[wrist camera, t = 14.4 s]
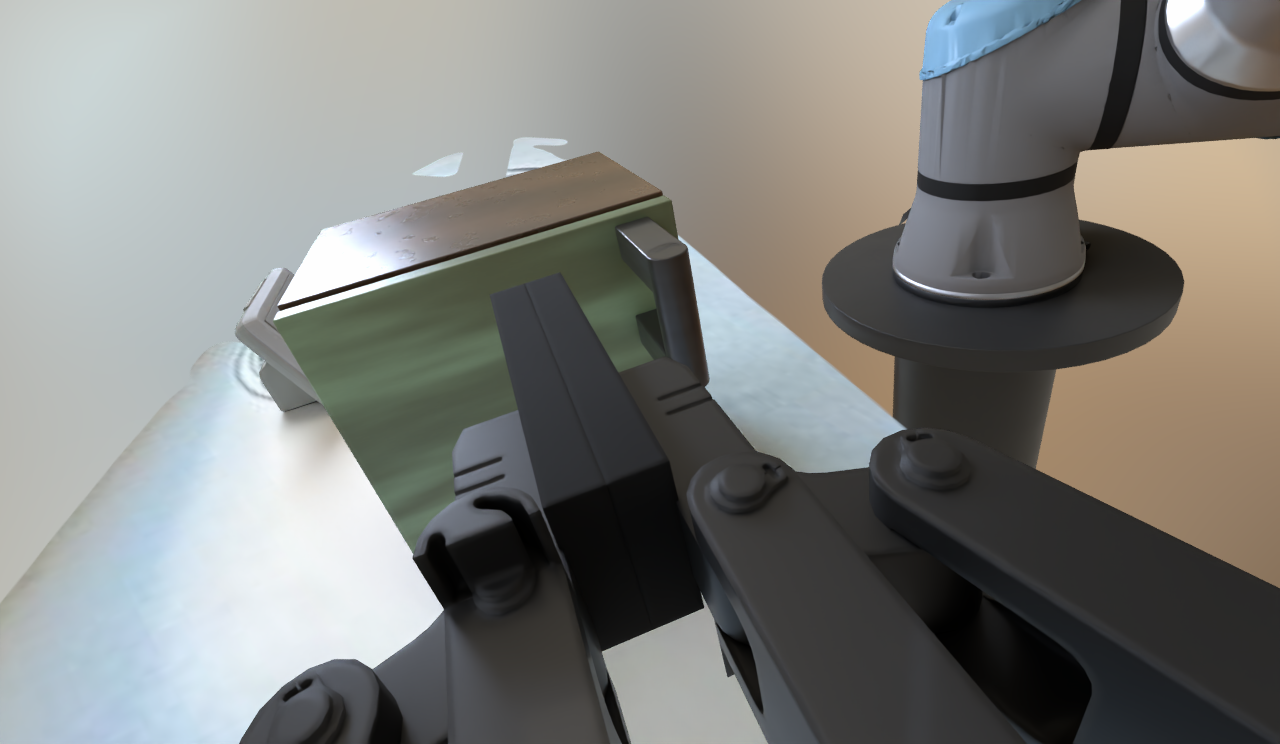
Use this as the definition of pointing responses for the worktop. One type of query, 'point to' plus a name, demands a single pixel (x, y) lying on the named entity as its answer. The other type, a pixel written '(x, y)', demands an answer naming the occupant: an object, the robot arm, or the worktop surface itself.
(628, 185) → the cupboard
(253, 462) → the worktop surface
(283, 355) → the digital clock
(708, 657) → the worktop surface
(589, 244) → the door
